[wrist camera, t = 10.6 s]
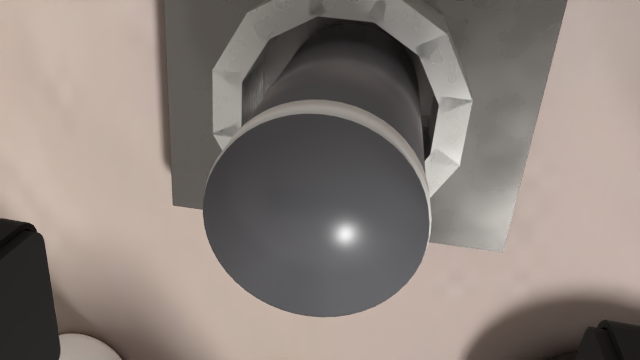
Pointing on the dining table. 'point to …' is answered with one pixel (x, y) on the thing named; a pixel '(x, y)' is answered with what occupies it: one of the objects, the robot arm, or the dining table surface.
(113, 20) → the dining table surface
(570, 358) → the donut
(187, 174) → the mount
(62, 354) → the drinking glass
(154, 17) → the dining table surface
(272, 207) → the lens
